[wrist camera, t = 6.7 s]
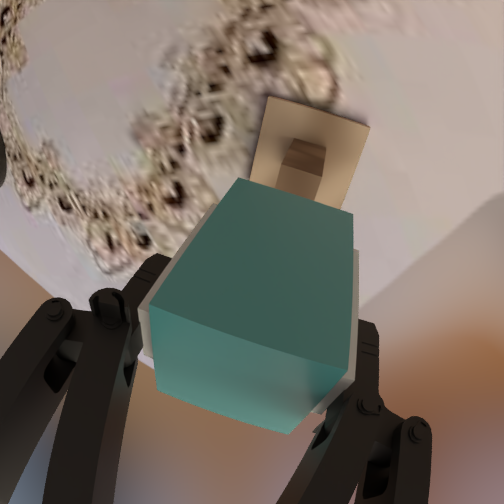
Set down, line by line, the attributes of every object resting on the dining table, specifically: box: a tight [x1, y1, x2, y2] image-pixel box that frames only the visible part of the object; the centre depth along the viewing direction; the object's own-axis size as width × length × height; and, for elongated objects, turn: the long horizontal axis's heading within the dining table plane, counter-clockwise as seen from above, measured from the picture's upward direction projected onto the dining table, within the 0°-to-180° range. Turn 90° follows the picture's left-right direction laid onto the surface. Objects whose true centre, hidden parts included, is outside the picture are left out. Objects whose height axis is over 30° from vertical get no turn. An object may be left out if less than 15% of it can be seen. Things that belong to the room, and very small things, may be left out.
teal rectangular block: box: [149, 178, 353, 434], centre depth 12 cm, size 5×5×8 cm
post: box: [249, 96, 370, 209], centre depth 22 cm, size 8×8×7 cm
